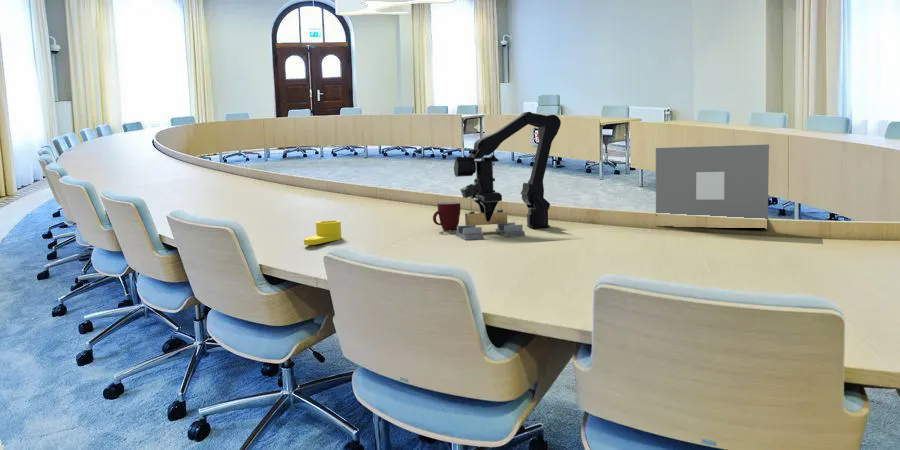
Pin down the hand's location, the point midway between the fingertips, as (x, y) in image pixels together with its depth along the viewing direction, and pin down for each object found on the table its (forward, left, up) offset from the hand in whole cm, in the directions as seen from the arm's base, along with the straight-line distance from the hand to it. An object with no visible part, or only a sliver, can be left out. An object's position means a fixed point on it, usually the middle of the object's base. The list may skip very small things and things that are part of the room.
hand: (486, 220), depth 239 cm
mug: (+12, -9, -4) cm, 16 cm away
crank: (+56, -8, -4) cm, 56 cm away
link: (0, 0, -1) cm, 1 cm away
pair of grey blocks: (+2, +10, -4) cm, 11 cm away
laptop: (-77, +17, -4) cm, 79 cm away
